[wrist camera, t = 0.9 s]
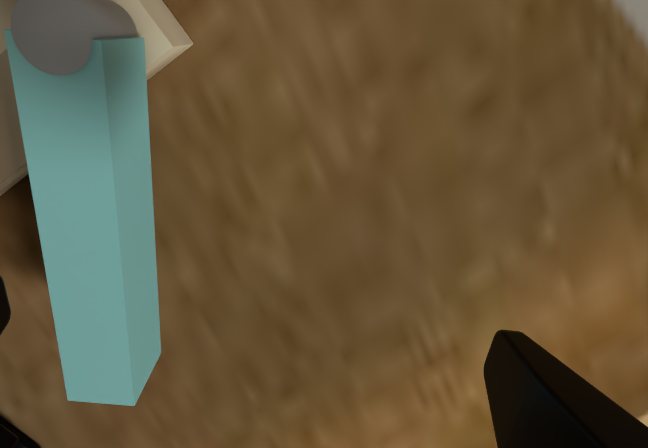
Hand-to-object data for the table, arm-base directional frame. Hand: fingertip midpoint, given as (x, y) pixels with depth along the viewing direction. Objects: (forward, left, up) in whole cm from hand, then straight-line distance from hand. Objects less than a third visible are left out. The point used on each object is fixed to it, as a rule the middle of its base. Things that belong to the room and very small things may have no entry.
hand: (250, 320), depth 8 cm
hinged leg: (-6, +2, -9) cm, 11 cm away
